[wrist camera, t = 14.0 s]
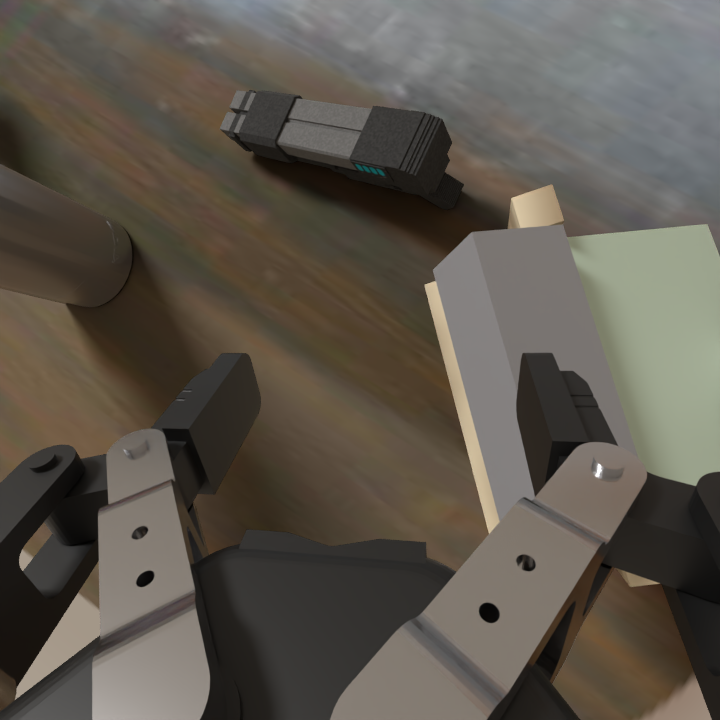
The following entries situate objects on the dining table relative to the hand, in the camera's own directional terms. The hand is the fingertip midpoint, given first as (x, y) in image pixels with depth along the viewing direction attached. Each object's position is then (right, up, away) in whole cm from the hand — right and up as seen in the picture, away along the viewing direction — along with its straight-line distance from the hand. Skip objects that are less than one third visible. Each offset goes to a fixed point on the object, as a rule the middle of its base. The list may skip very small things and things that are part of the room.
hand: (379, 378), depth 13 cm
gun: (-2, +17, +25) cm, 30 cm away
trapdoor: (+13, 0, +11) cm, 17 cm away
